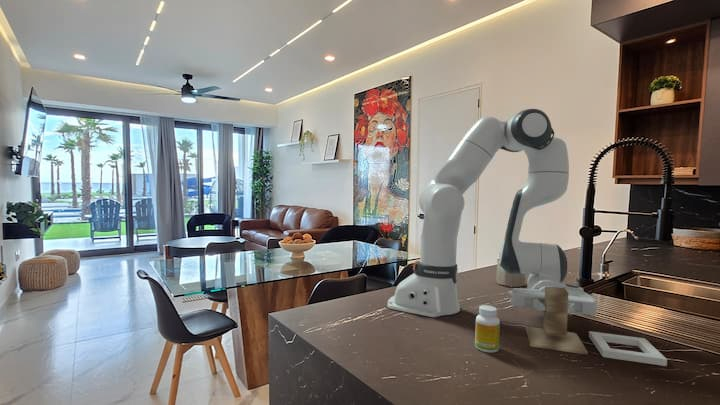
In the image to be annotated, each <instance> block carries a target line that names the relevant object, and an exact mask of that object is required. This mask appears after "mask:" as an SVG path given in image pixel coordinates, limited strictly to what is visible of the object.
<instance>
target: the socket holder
mask: <svg viewBox="0 0 720 405" xmlns="http://www.w3.org/2000/svg"><path fill="white" fill-rule="evenodd" d="M588 332H589V334H588V338H589V339H590V341H591V342H592V343H593V345H594V346H595V348H596V349H597V351H598V352H599V353H600V355H601V356H602V357H603V358H608V359H614V360H621V361H628V362H634V363H635V362H636V363H641V364H647V365H648V364H650V365H656V366H661V367H667V366H668V359H667V358H666V357H665V356H664V355H663V354H662V353H661V352H660V351H659V349H657V348H655V347H654V346H653V345H652V343H650V342H649V340H648V339H646V338H645V337H637V336H629V335H621V334H615V333H614V334H613V333H606V332H598V331H592V330H591V331H590V330H589V331H588ZM608 343H609V344H618V345H619V344H620V345H625V346H632V347H633V346H634V347H638V348H639V349H640V350H641V351H642V352H640V351H639V352H638V351H633V350H626V349H619V348H618V349H617V348H611V347H610V346H609V344H608Z"/></svg>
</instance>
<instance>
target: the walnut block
mask: <svg viewBox="0 0 720 405" xmlns="http://www.w3.org/2000/svg"><path fill="white" fill-rule="evenodd" d="M544 303H545V304H546V312H543V323H542V324H543V325H542V329H544V331H545V334H546V335H551V336H559V337H567V332H568V292H567V290H566V289H565V288H558V287H547V286H545V300H544Z"/></svg>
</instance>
